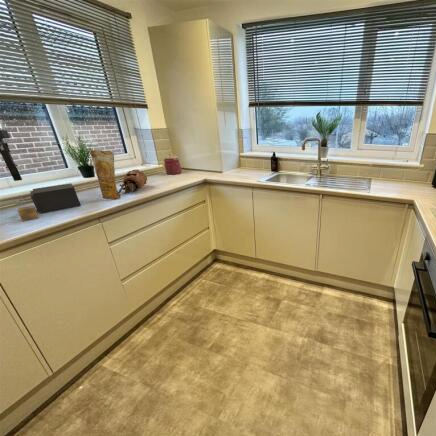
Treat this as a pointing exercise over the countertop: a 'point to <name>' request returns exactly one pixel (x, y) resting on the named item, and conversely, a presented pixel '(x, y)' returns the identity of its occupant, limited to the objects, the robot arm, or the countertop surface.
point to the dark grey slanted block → (56, 198)
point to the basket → (29, 201)
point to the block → (28, 213)
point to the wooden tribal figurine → (133, 181)
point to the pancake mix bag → (105, 172)
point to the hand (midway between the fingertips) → (18, 180)
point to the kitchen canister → (172, 164)
